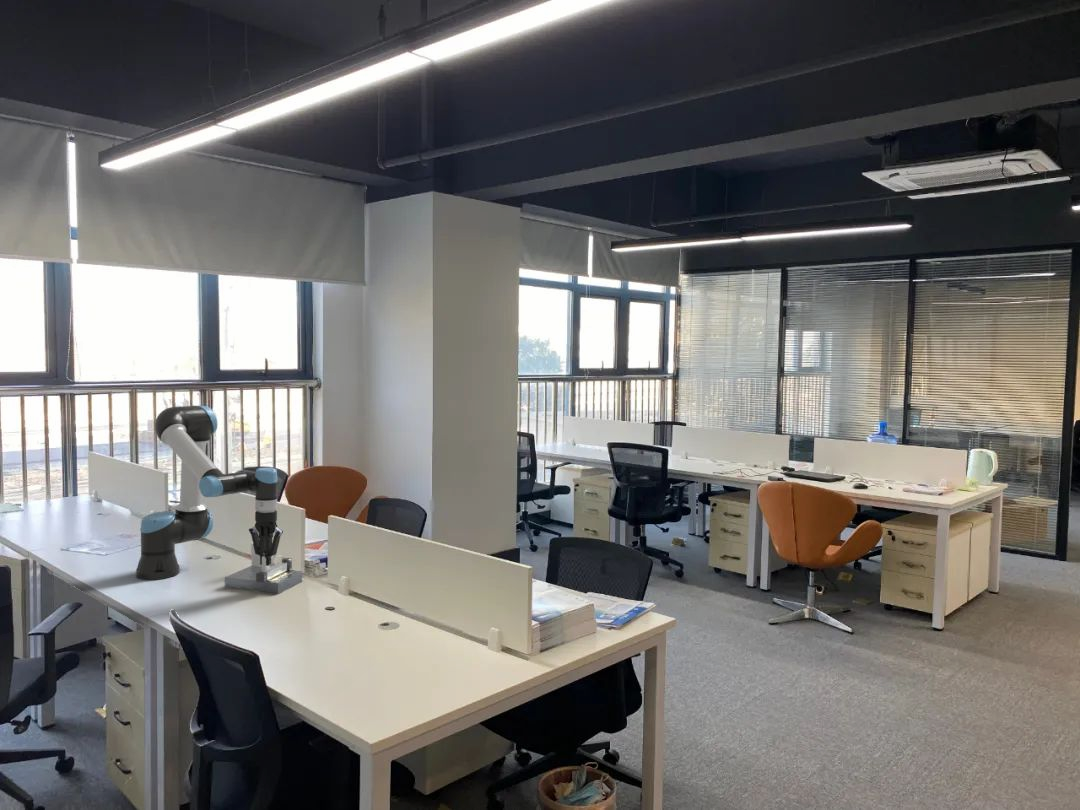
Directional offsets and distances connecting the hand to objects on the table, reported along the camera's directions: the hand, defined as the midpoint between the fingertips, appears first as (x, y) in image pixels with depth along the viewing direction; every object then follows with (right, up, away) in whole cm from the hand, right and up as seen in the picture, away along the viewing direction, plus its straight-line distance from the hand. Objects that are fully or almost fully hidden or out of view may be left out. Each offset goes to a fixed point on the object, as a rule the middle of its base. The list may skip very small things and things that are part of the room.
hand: (265, 573), depth 283 cm
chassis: (-2, -5, +5) cm, 8 cm away
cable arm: (+3, -1, +3) cm, 4 cm away
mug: (-8, -4, +22) cm, 24 cm away
